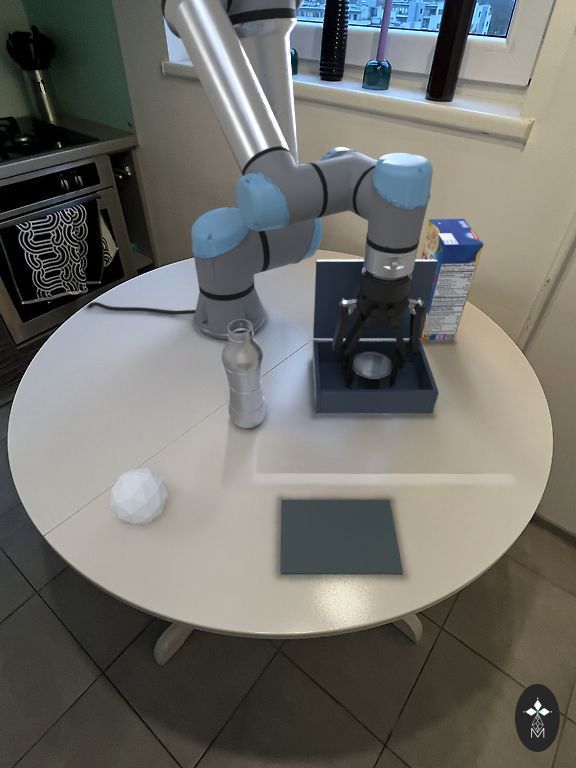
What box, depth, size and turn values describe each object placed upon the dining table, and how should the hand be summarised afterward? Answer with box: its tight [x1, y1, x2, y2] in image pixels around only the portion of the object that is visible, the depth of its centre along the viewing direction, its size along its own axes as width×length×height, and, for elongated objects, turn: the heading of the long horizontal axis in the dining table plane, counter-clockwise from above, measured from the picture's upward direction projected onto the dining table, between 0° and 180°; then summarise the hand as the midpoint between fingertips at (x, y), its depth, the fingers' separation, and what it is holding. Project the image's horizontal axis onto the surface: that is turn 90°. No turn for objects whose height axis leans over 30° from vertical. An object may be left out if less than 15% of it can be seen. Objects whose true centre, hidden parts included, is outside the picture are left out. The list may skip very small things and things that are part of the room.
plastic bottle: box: [221, 319, 268, 429], centre depth 72 cm, size 6×7×20 cm
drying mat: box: [280, 499, 404, 575], centre depth 63 cm, size 16×11×1 cm
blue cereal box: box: [420, 218, 485, 342], centre depth 91 cm, size 7×11×22 cm, turn 2°
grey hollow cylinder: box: [350, 351, 393, 390], centre depth 83 cm, size 7×7×5 cm
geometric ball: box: [109, 467, 169, 525], centre depth 64 cm, size 8×8×8 cm
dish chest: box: [311, 339, 440, 414], centre depth 83 cm, size 15×21×6 cm
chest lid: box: [312, 259, 438, 339], centre depth 81 cm, size 15×21×1 cm
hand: (369, 380), depth 84 cm, fingers closed on grey hollow cylinder, 7 cm apart
